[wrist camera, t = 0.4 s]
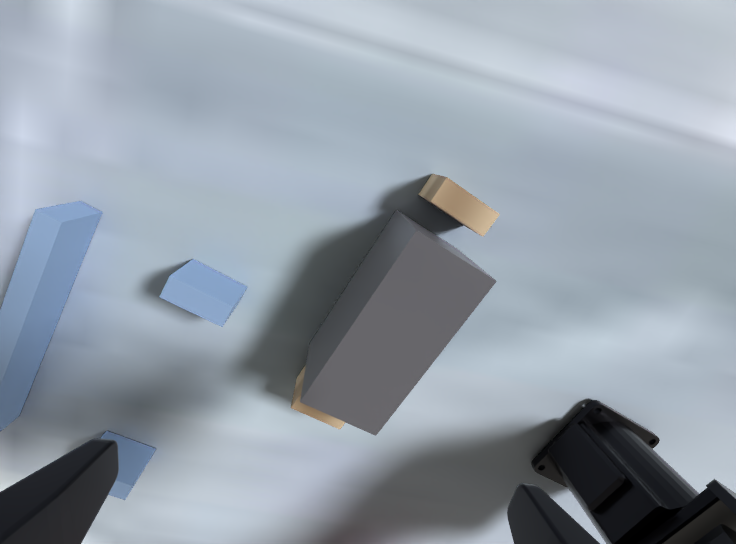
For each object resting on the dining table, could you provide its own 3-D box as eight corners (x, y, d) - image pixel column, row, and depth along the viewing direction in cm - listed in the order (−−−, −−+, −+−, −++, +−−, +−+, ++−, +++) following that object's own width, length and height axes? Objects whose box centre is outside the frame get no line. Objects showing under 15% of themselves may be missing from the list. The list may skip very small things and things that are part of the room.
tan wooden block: (478, 206, 17) (499, 214, 15) (340, 398, 21) (340, 429, 18) (432, 173, 17) (446, 177, 14) (296, 378, 20) (290, 408, 18)
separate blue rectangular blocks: (247, 286, 18) (233, 307, 16) (148, 461, 21) (124, 500, 19) (80, 200, 16) (35, 209, 14) (0, 409, 19) (-47, 444, 17)
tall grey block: (456, 248, 18) (496, 281, 14) (367, 370, 21) (375, 435, 16) (396, 209, 17) (416, 230, 13) (309, 342, 20) (299, 402, 15)
